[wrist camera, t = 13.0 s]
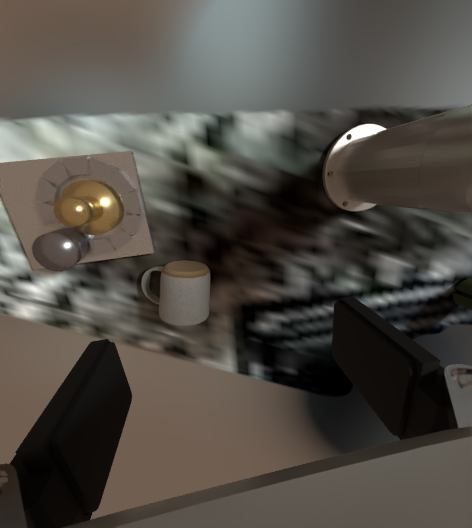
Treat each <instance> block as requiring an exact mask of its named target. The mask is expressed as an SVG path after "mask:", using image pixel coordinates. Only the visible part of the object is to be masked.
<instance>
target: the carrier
mask: <svg viewBox="0 0 472 528" xmlns="http://www.w3.org/2000/svg"><path fill="white" fill-rule="evenodd" d="M80 180H89V181H97V182H100V183H103V184H105V185H107V186H108V187H110V188H111V189H112V190H113V191H114V192H115V193H116V194H117V196H118V197H119V199H120V202H121V205H122V217H121V220H120V222H119V224H118V225H117V226H116V227H115V228H114V229H112V230H110V231H108V232H106V233H104V234H100V235H88V234H84V233H81V232H79V231H77V230H76V229H74V228H73V227H69V226H66V225H64V224H62V223H61V222H59V221H58V219H57V218H56V217H55V214H54V205H55V203H56V202H57V201H58V200H59V199H60V198H61V194H62V192H63V191H64V189H65V188H66V187H67V186H68V185H70V184H71V183H73V182H76V181H80ZM0 194H1V196H2V198H3V201H4V203H5V205H6V208H7V210H8V212H9V215H10V217H11V219H12V222H13V224H14V226H15V229H16V231H17V233H18V236H19V238H20V240H21V243H22V245H23V247H24V249H25V252H26V254H27V256H28V259H29V261H30V263H31V266H32V268H33V270H35V269H42V268H47V269H49V270H53V271H63V270H67V269H69V268H70V267H72V266H73V265H75V264H78V263H86V262H93V261H100V260H107V259H114V258H122V257H129V256H136V255H143V254H151V253H155V251H156V250H155V245H154V241H153V236H152V232H151V228H150V223H149V219H148V215H147V210H146V206H145V202H144V197H143V193H142V189H141V184H140V180H139V176H138V171H137V167H136V162H135V158H134V154H133V152H131V151H127V152H116V153H105V154H94V155H82V156H71V157H60V158H49V159H38V160H27V161H16V162H5V163H0Z"/></svg>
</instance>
